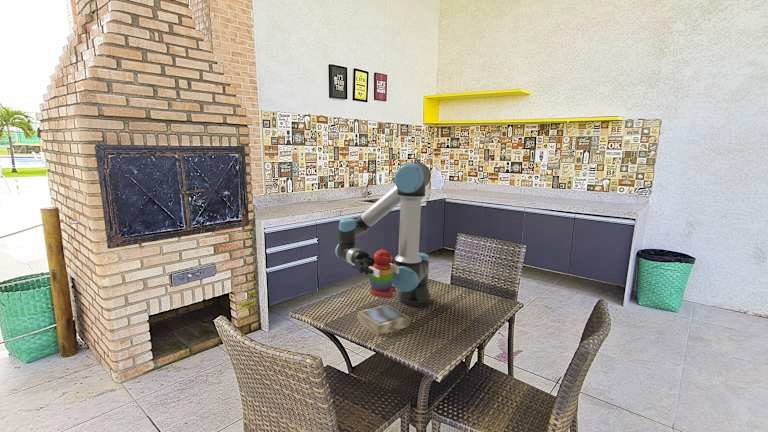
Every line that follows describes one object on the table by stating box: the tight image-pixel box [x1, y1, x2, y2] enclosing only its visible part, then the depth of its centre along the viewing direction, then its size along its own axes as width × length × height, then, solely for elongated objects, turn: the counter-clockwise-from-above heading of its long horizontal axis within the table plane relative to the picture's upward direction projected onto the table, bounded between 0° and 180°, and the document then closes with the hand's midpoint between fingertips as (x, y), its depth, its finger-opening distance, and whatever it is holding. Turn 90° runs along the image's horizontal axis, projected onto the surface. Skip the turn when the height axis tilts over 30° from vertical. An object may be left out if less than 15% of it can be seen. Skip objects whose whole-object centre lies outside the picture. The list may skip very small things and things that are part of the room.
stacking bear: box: [369, 248, 397, 299], centre depth 152 cm, size 11×10×18 cm
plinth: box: [356, 304, 410, 337], centre depth 155 cm, size 15×15×4 cm
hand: (388, 272), depth 148 cm, fingers closed on stacking bear, 9 cm apart
